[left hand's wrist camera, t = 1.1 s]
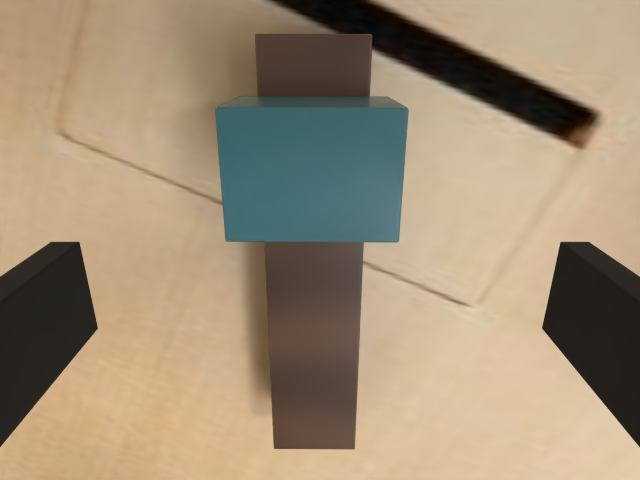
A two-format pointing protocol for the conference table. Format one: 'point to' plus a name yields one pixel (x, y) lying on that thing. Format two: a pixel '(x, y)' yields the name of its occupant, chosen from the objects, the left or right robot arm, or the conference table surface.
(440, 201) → the conference table surface
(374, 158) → the cap block
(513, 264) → the conference table surface
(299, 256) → the tall bronze post
